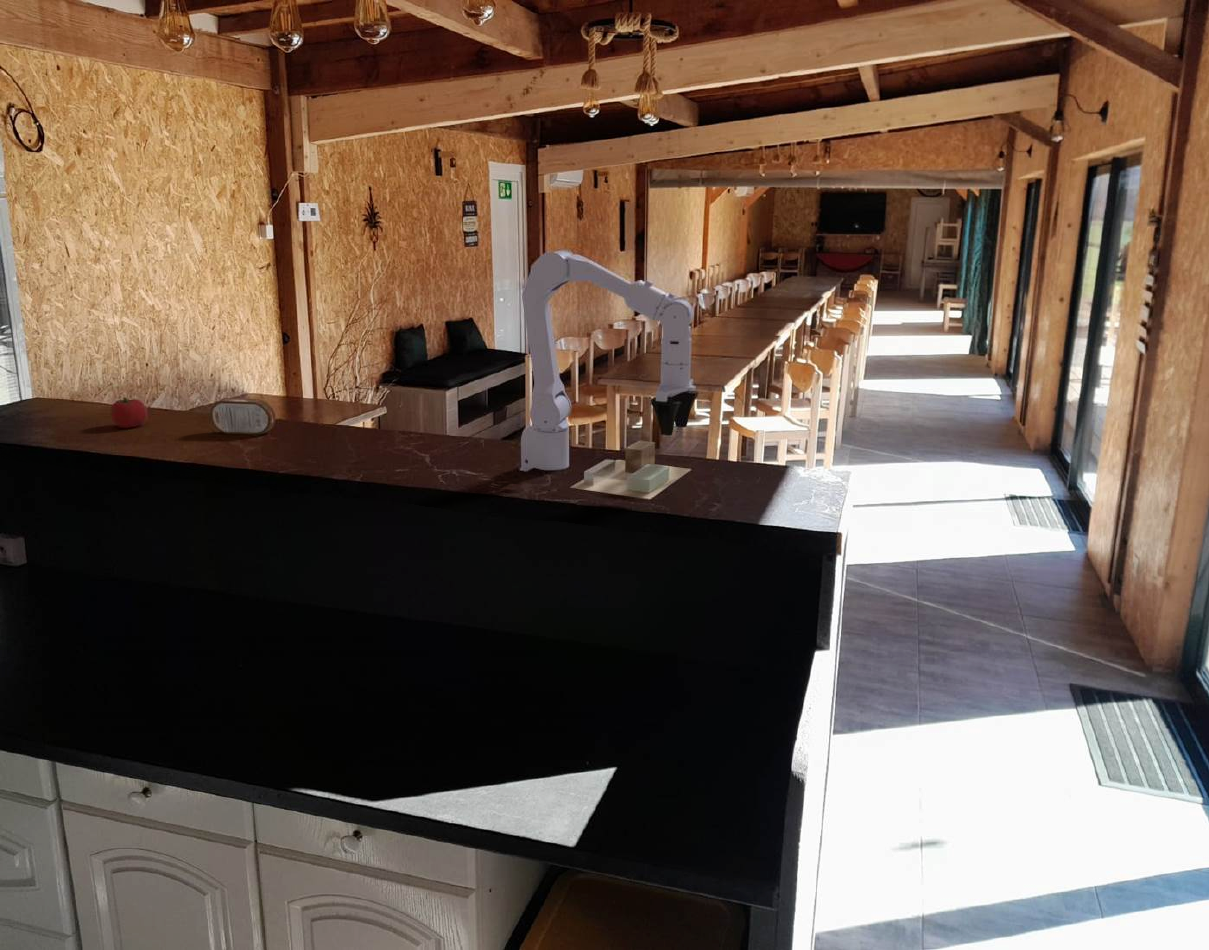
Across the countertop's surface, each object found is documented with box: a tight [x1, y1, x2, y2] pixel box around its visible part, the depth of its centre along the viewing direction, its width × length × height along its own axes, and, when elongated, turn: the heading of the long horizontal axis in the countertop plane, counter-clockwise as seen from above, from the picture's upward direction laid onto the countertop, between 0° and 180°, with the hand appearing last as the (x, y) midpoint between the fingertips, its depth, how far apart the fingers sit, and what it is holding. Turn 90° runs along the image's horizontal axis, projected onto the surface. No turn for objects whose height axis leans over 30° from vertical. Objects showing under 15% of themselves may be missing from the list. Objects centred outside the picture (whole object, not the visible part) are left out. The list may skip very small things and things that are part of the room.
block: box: [624, 439, 656, 473], centre depth 191 cm, size 4×7×5 cm, turn 155°
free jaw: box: [627, 464, 669, 493], centre depth 180 cm, size 5×10×2 cm, turn 155°
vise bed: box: [569, 459, 692, 502], centre depth 185 cm, size 16×22×1 cm
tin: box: [209, 397, 276, 436], centre depth 221 cm, size 15×3×8 cm, turn 84°
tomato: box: [110, 396, 149, 429], centre depth 228 cm, size 8×8×7 cm
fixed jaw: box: [583, 458, 616, 486], centre depth 185 cm, size 2×10×2 cm, turn 155°
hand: (673, 430), depth 186 cm, fingers open, 7 cm apart
